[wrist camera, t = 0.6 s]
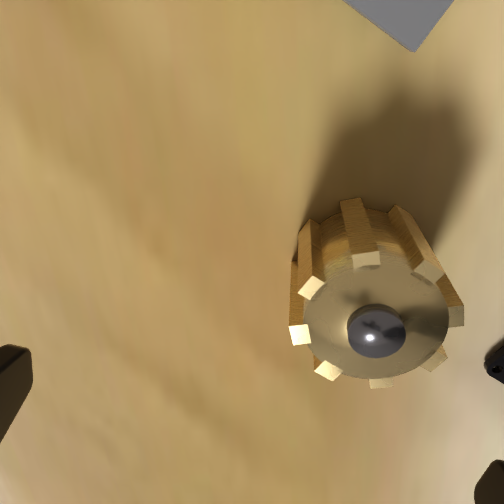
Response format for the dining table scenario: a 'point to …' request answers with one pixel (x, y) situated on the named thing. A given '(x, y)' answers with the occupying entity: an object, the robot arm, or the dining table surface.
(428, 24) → the carrier plate
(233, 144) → the dining table surface
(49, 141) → the dining table surface
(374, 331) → the gear
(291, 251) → the dining table surface
